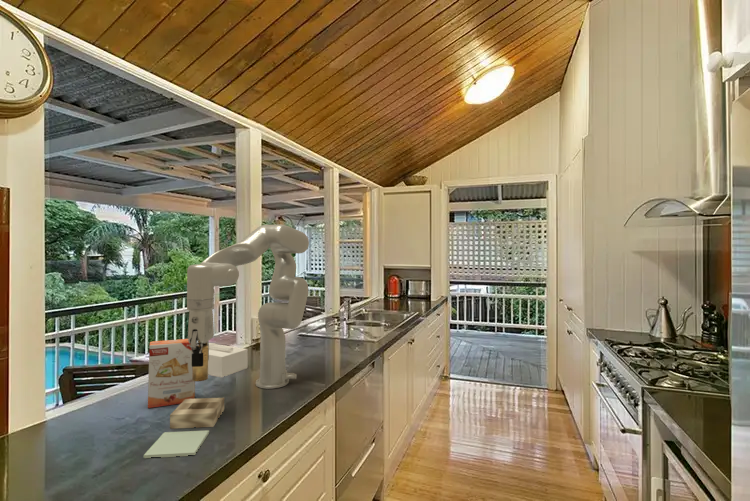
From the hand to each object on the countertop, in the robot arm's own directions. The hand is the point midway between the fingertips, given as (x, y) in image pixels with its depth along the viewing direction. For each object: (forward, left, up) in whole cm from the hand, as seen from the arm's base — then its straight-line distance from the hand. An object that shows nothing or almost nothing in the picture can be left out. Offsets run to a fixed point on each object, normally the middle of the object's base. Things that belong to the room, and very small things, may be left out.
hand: (200, 363), depth 117 cm
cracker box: (+13, -14, -17) cm, 26 cm away
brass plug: (0, 0, -5) cm, 5 cm away
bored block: (0, 0, -17) cm, 17 cm away
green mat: (0, +16, -17) cm, 24 cm away
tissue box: (+10, -52, -18) cm, 56 cm away
